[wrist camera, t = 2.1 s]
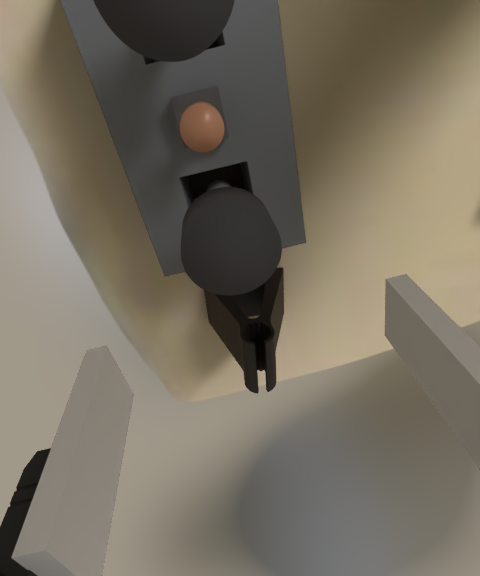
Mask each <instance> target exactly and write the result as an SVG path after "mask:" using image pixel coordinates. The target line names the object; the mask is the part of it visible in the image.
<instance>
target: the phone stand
mask: <svg viewBox="0 0 480 576" xmlns="http://www.w3.org/2000/svg"><path fill="white" fill-rule="evenodd" d="M204 293H205V299H206V306H207V312H208V318H209V323H210V324H211V326H212V327H213V328H214V330H215V331H216V333H217V334H218V335H219V337H220V338H221V340H222V341H223V342H224V344H225V345H226V347H227V348H228V350H229V351H230V352H231V354H232V355H233V357H234V358H235V359H236V361H237V362H238V364H239V365H240V366H241V368H242V369H243V371H244V380H245V385H246V387H247V388H248V389H249V390H250V391H251V392H254V393H258V377H257V370H260V371H262V370H265V372H266V390H267V391H268V392H269V391H271V390H272V389H273V388H274V387H275V385H276V356H275V351H276V346H277V342H278V337H279V333H280V328H281V323H282V319H283V314H284V284H283V268H276V270H275V272H274V273H273V274H272V276H271V277H270V278H269V279H268V280H267V281H266V282H265V283H264V284H262V285H261V286H260V287H258V288H256V289H254V290H252V291H250V292H247V293H244V294H239V295H230V296H229V295H218V294H214V293H211V292H209V291H206V290H204ZM257 315H260V316H259V317H258V318H255V319H249V318H247V317H249V316H257Z"/></svg>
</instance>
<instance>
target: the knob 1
mask: <svg viewBox="0 0 480 576" xmlns="http://www.w3.org/2000/svg"><path fill="white" fill-rule="evenodd" d="M234 1H235V0H94V3H95V5H96V7H97V9H98V11H99V13H100V15H101V16H102V18H103V19H104V21H105V22H106V24H107V25H108V27H109V28H110V29H111V30H112V32H113V33H114V34H115V35H116V36H117V37H118V38H119V39H120V40H121V41H122V42H123V43H124V44H126V45H127V46H128V47H129V48H131V49H132V50H134V51H136V52H137V53H139V54H141V55H143V56H145V57H148V58H151V59H154V60H157V61H164V62H179V61H185V60H188V59H191V58H193V57H195V56H197V55H199V54H201V53H202V52H203V51H205V50H206V49H207V48H209V47H210V46H211V45H212V44H213V43H214V42H215V41H216V39H217V38H218V37H219V35H220V34H221V33H222V31H223V29H224V28H225V26H226V24H227V22H228V20H229V17H230V15H231V12H232V9H233V6H234Z"/></svg>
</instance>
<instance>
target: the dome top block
mask: <svg viewBox="0 0 480 576" xmlns="http://www.w3.org/2000/svg"><path fill="white" fill-rule="evenodd" d="M171 103H172V106H173V110H174V113H175V117H176V120H177V124H178V128H179V131H180V135H181V138H182V142H183V146H184V149H187V148H191V149H192V150H194V151H197V152H209V151H212V150H213V149H215V148H216V147H217V146H218V145H219V144H220V143H221V141H222V140H224V139H228V138H229V136H228V131H227V127H226V122H225V117H224V112H223V108H222V103H221V98H220V93H219V89H218V86H214V87H210V88H206V89H202V90H198V91H194V92H190V93H186V94H182V95H178V96H174V97H171Z"/></svg>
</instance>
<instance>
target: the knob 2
mask: <svg viewBox="0 0 480 576" xmlns="http://www.w3.org/2000/svg"><path fill="white" fill-rule="evenodd" d="M281 252H282V244H281V238H280V234H279V232H278V230H277V228H276V226H275V224H274V222H273V220H272V218H271V216H270V214H269V212H268V210H267V208H266V207H265V205H264V204H263V202H262V201H261V200H260V199H259V198H258V197H256V196H255V195H254V194H252V193H250V192H249V191H246V190H244V189H241V188H236V187H231V186H230V185H229V184H228V183H227V182H225V181H222V180H217V181H214V182H212V183H211V184H210V185H209V186H208V187H207V189H206V192H205V193H204V194H202V195H200V196H199V197H198V198H197V199H196V200H194V202H193V203H192V204H191V205H190V206H189V208H188V209H187V211H186V213H185V216H184V219H183V223H182V236H181V260H182V264H183V267H184V269H185V271H186V273H187V274H188V276H189V277H190V278H191V280H192V281H193V282H194V283H195V284H197V285H198V286H199V287H201V288H203V289H204V290H206V291H209V292H211V293H214V294H218V295H229V296H230V295H239V294H244V293H247V292H250V291H252V290H254V289H256V288H258V287H260V286H261V285H262V284H264V283H265V282H266V281H267V280H268V279H269V278H270V277H271V276H272V274H273V273H274V272H275V270H276V268H277V266H278V264H279V261H280V258H281Z"/></svg>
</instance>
